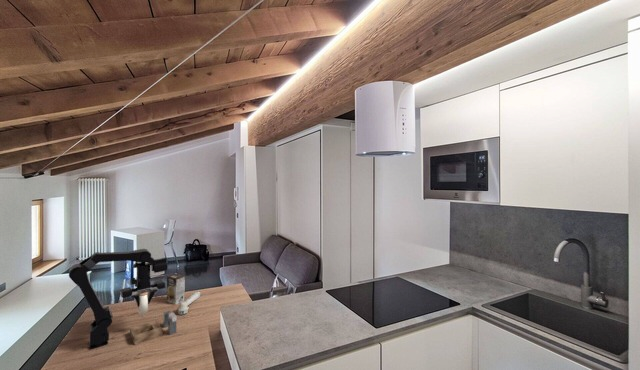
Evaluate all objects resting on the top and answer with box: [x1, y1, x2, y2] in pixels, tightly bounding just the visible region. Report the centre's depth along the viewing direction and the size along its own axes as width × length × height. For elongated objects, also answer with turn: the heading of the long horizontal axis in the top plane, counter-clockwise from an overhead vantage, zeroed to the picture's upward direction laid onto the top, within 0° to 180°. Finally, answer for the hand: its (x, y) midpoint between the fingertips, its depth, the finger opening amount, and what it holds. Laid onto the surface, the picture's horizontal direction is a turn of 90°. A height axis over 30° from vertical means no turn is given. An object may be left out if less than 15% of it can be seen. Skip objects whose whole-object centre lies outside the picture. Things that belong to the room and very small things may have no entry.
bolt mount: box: [162, 310, 177, 336], centre depth 142 cm, size 3×12×7 cm, turn 43°
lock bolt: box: [169, 311, 178, 322], centre depth 138 cm, size 2×6×2 cm, turn 43°
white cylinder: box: [138, 290, 149, 315], centre depth 140 cm, size 4×4×10 cm
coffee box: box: [166, 273, 186, 306], centre depth 174 cm, size 9×6×16 cm
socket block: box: [129, 320, 163, 346], centre depth 137 cm, size 12×12×3 cm
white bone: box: [177, 290, 202, 316], centre depth 169 cm, size 5×7×25 cm
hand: (143, 305), depth 140 cm, fingers closed on white cylinder, 4 cm apart
